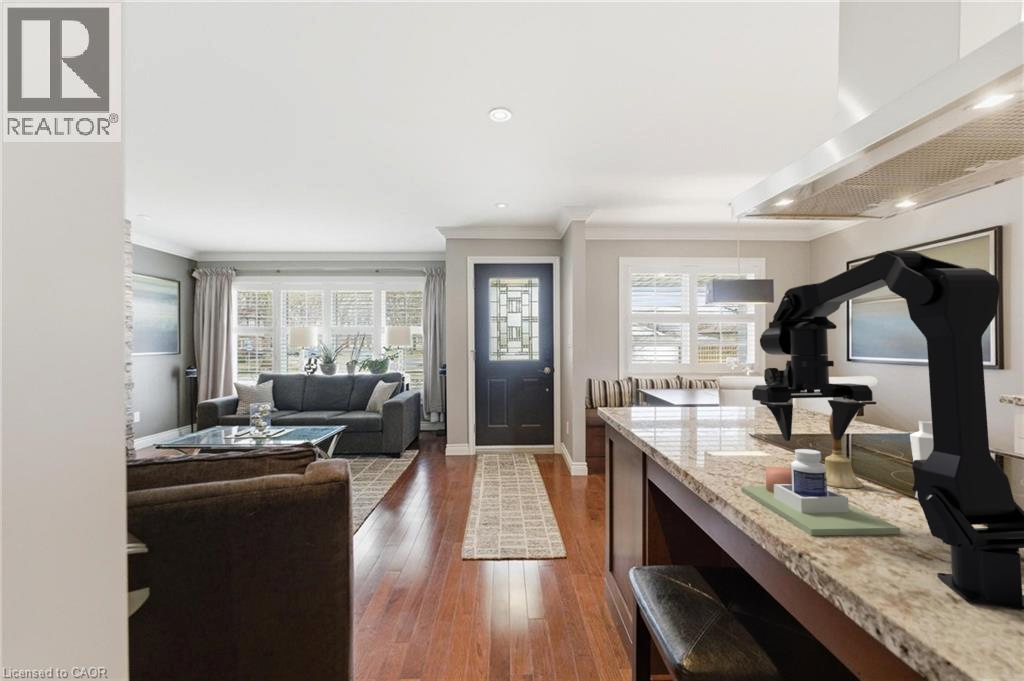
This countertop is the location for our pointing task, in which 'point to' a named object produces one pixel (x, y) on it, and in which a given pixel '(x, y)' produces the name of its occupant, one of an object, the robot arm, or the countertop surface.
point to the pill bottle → (808, 474)
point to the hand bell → (839, 466)
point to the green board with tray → (815, 508)
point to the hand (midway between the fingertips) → (812, 440)
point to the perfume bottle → (922, 442)
